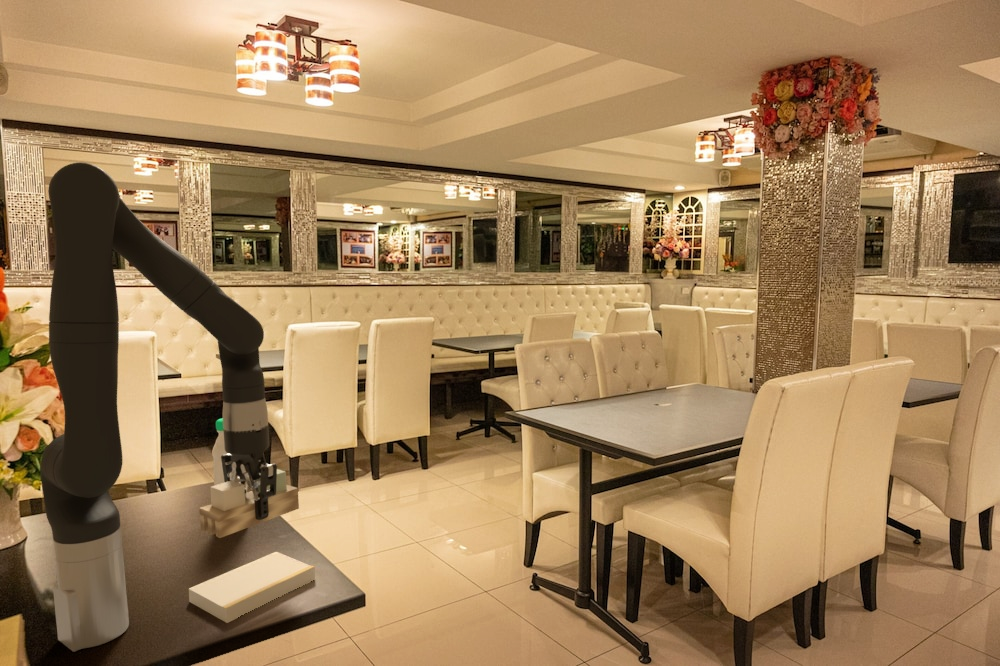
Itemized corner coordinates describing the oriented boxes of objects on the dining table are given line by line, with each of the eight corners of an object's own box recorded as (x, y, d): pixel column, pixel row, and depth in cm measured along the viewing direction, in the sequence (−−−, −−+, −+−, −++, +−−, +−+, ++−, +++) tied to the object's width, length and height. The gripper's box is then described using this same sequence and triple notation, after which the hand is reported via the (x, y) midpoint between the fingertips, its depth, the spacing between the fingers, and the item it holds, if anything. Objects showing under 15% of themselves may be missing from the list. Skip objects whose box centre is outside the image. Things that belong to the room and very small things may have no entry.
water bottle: (217, 522, 153) (210, 416, 150) (250, 517, 156) (243, 413, 153) (216, 533, 146) (208, 423, 144) (250, 528, 149) (243, 420, 146)
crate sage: (268, 496, 120) (267, 477, 119) (255, 491, 122) (254, 473, 122) (286, 489, 123) (285, 471, 123) (273, 485, 125) (272, 467, 125)
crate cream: (224, 510, 113) (223, 491, 113) (211, 506, 115) (210, 486, 115) (245, 503, 116) (244, 484, 116) (232, 499, 118) (231, 480, 118)
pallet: (219, 538, 111) (218, 515, 111) (200, 529, 115) (199, 507, 115) (298, 508, 124) (297, 488, 124) (279, 502, 128) (278, 482, 127)
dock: (227, 623, 110) (226, 608, 110) (189, 601, 117) (188, 588, 117) (315, 579, 124) (314, 566, 124) (276, 563, 131) (276, 551, 131)
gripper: (204, 423, 119) (210, 512, 121) (250, 434, 110) (256, 530, 112) (241, 414, 125) (247, 500, 127) (288, 425, 116) (293, 516, 118)
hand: (251, 514), depth 119 cm, fingers closed on pallet, 6 cm apart
